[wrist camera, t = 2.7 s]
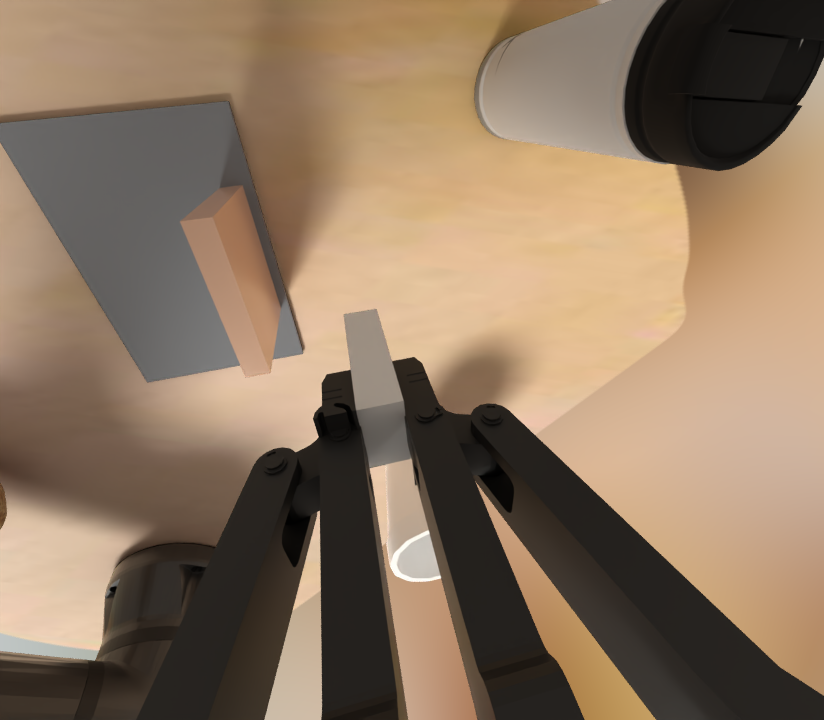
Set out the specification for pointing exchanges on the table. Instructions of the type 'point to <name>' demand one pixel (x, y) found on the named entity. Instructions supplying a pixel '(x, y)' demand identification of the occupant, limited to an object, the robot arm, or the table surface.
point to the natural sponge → (2, 506)
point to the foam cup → (408, 526)
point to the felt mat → (145, 223)
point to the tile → (236, 275)
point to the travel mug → (657, 79)
